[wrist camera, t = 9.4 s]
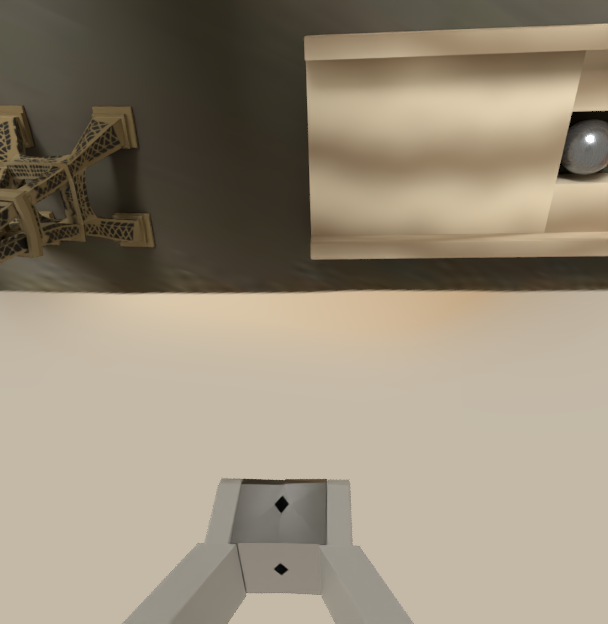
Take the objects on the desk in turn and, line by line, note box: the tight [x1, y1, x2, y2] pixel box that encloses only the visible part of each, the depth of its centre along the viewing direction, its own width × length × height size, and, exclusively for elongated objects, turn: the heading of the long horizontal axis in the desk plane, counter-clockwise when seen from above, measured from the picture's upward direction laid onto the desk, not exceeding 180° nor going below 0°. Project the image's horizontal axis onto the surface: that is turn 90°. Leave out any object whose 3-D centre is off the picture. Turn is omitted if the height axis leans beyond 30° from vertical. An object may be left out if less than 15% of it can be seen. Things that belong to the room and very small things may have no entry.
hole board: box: [304, 24, 608, 259], centre depth 32 cm, size 14×25×6 cm, turn 92°
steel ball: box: [561, 119, 608, 175], centre depth 32 cm, size 4×4×4 cm
